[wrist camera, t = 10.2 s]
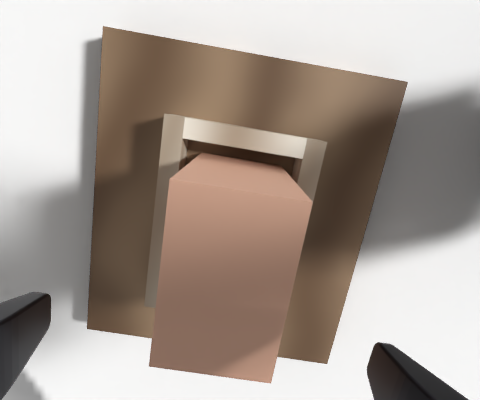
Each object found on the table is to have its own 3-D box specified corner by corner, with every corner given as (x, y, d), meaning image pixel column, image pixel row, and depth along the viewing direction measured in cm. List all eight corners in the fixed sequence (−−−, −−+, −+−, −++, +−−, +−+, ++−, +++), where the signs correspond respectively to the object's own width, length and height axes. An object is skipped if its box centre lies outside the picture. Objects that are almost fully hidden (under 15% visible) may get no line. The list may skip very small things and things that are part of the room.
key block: (259, 276, 19) (270, 383, 11) (186, 265, 19) (148, 366, 11) (281, 165, 17) (313, 201, 10) (201, 152, 17) (169, 178, 10)
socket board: (394, 85, 18) (430, 76, 14) (321, 348, 22) (335, 389, 19) (114, 34, 17) (83, 12, 14) (97, 314, 22) (70, 350, 18)
